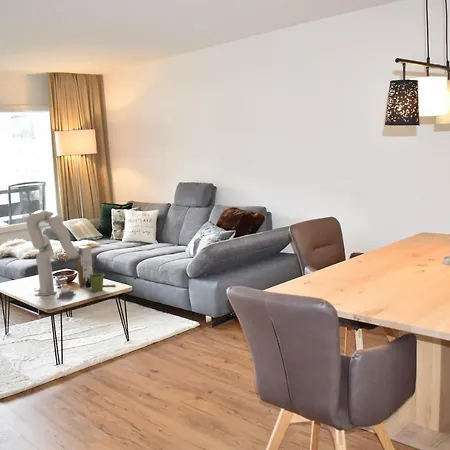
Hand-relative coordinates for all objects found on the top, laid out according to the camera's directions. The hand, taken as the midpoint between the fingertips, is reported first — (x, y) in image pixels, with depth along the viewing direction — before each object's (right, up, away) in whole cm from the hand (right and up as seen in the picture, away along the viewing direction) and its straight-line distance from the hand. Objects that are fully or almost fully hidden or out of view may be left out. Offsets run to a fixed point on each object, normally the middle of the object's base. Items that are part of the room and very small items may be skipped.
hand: (88, 287), depth 394 cm
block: (-6, 0, +19) cm, 20 cm away
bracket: (+10, 0, +10) cm, 14 cm away
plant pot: (+6, -2, 0) cm, 7 cm away
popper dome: (-12, -4, -13) cm, 18 cm away
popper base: (-12, -5, -13) cm, 18 cm away
